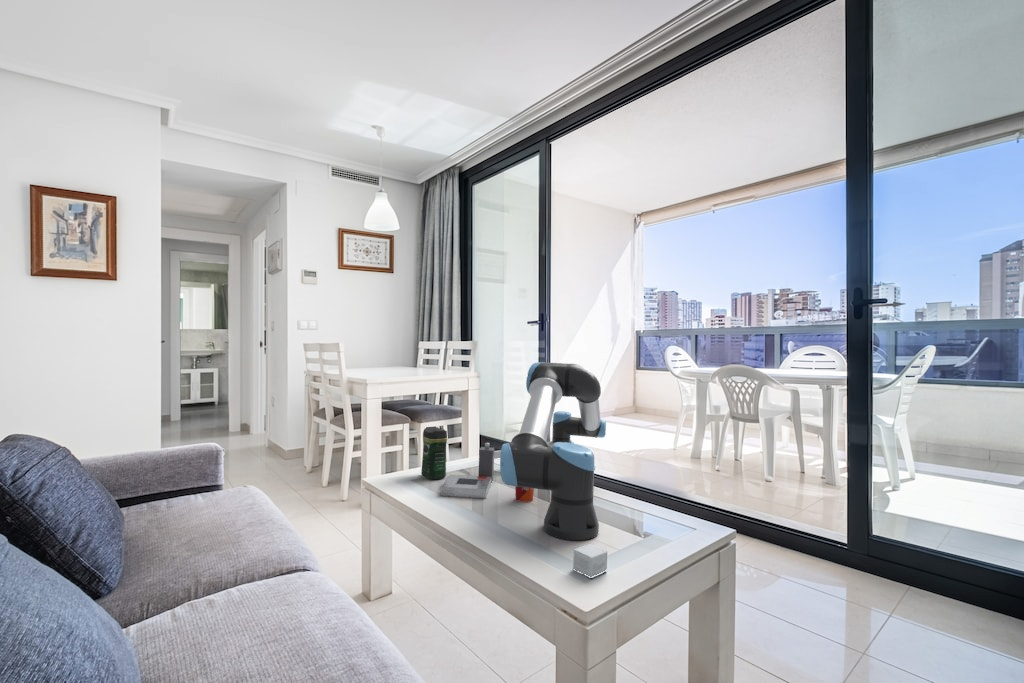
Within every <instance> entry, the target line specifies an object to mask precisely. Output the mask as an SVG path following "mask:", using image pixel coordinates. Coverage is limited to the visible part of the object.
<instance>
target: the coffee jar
mask: <svg viewBox="0 0 1024 683" xmlns="http://www.w3.org/2000/svg"><path fill="white" fill-rule="evenodd" d="M447 441H448V431H447V430H445V429H443V428H440V427H437V426H426V427H425V428H424V429H423V432H422V443H423V444H422V461H421V476H422V477H423V478H426V479H428V480H436V481H437V480H441V479H444V478H445V477H446V475H447Z"/></svg>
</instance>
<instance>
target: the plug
mask: <svg viewBox="0 0 1024 683" xmlns="http://www.w3.org/2000/svg"><path fill="white" fill-rule="evenodd" d="M478 451H479V452H478V453H479V454H478V455H479V456H478V474H477V476H487V477H492V478H491V483H492V484H493V482H494V472H495V471H494V468H495V459H494V451H495V447H492V446H491V447H490V442H485V443H484V446H481V447H480V449H479V450H478ZM492 481H493V482H492Z"/></svg>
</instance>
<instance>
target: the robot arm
mask: <svg viewBox="0 0 1024 683" xmlns="http://www.w3.org/2000/svg"><path fill="white" fill-rule="evenodd" d="M525 384H526V385H525V386H526V391H527V393H528V394H529V395H530V399H529V402H528V405H527V408H526V411H525V414H524V417H523V420H522V423H521V426H520V429H519V433H518V434H516V435H514V436H513V437H512V439H511V441H510V442H507V443H503V444H502V445H501V448H500V450H494V460H495V459H500V460H499V462H500V463H499V470H500V477H501V481H502V482H503V483H504V484H505V485H506V486H511V487H525V488H534V490H535V489H536V490H545V491H546V490H547V491H551V493H550V494H551V496H550V502H549V506H548V507H547V511H546V514H545V515H544V519H543V530H544V531H545V532H546V533H547V534H548V535H550V536H553V537H555V538H557V539H562V540H568V541H587V540H591V539H593V537H594V538H595V536H596V537H597V536H598V535H599V533H598V532H599V528H600V527H599V526H600V525H599V519H598V516H597V513H596V509H595V506H594V485H595V483H594V482H595V470H596V466H595V454H594V452H593V450H591V449H589V448H588V447H586V446H583V445H580V444H577V443H574V441H573V440H572V439H571V436H576V437H577V436H579V437H587V438H588V437H589V438H596V439H597V438H599V439H600V438H601V439H603V438H604V437H606V434H607V433H606V432H607V421H606V420H605V419H602V418H601V412H600V411H601V410H600V400H599V399H600V397H601V394H602V391H601V390H602V389H601V384H600V382H599V380H598V378H597V377H596V376H595V374H594V373H593V372H592V371H591V370H589V369H588V368H587V367H585V366H583V365H580V364H577V363H562V362H561V363H559V362H546V361H540V362H534V363H532V364H531V365H530V367H529V369H528V371H527V376H526V383H525ZM562 397H570V398H571V397H572V398H576V400H577V402H578V407H579V414H580V417H575V416H572V413H571V412H569V411H564V410H561V411H555V407H556V404H558V403H559V402H560V401H561V400H562ZM554 411H555V412H554ZM551 424H552V437H551V439H552V440H550V441H547V440H548V437H549V436H548V435H549V432H550V427H551ZM597 534H598V535H597ZM590 538H591V539H590ZM585 539H586V540H585Z"/></svg>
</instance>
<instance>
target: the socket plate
mask: <svg viewBox="0 0 1024 683" xmlns="http://www.w3.org/2000/svg"><path fill="white" fill-rule="evenodd" d="M491 478H492V477H487V476H478V475H466V474H465V475H463V474H449V476H447V478H446V479H445V481H444V482H443V484H442V485H441V487H440V497H451V498H452V497H453V496H454V498H455V497H456V498H457V497H458V498H469V497H471V498H472V499H487V498H488V495H489V492H490V490H489V489H491V486H492V484H491Z"/></svg>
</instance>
